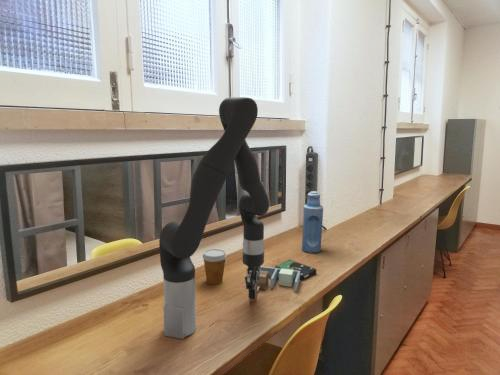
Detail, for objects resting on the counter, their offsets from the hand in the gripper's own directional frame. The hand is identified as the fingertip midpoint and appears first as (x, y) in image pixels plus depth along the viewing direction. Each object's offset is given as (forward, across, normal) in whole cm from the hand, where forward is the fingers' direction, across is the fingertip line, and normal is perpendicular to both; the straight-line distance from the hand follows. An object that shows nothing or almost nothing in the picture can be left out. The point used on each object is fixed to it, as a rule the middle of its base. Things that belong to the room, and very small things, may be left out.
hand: (252, 295), depth 127 cm
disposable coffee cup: (+2, +11, +18) cm, 22 cm away
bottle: (+3, +59, -16) cm, 61 cm away
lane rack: (+2, +16, -5) cm, 17 cm away
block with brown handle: (+2, +7, 0) cm, 7 cm away
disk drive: (+3, +29, -12) cm, 32 cm away
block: (+2, +17, -9) cm, 20 cm away
